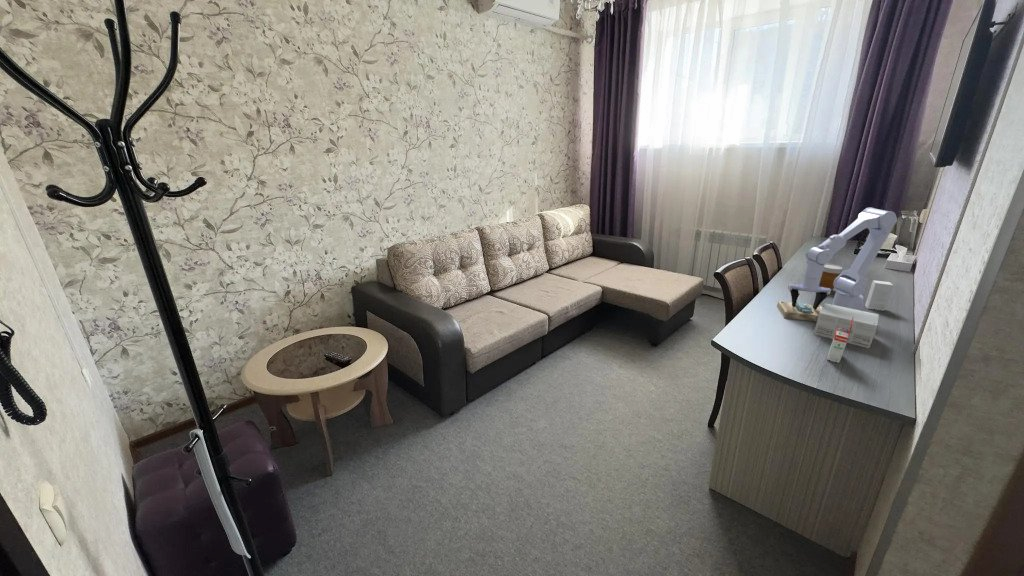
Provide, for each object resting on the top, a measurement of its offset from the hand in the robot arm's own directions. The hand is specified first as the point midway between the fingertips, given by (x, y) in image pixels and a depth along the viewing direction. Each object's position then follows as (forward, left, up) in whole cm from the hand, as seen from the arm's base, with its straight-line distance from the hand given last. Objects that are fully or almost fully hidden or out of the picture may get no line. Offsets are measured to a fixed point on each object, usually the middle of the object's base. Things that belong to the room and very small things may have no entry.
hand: (803, 307), depth 173 cm
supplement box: (-9, +16, -4) cm, 19 cm away
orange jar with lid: (-19, -37, -3) cm, 42 cm away
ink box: (0, +37, -3) cm, 37 cm away
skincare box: (-32, -18, -3) cm, 37 cm away
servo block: (0, 0, -3) cm, 3 cm away
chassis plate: (0, 0, -3) cm, 3 cm away
